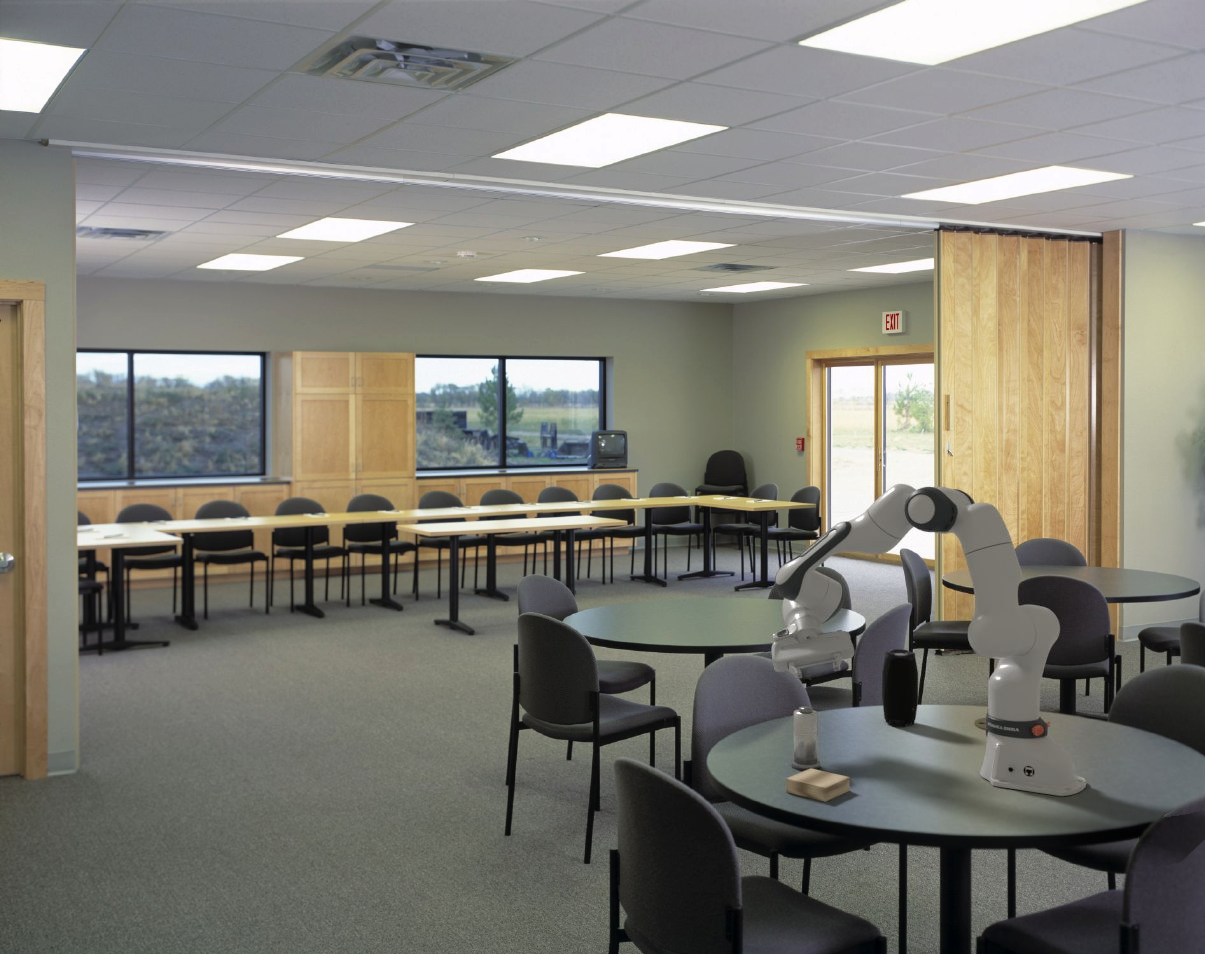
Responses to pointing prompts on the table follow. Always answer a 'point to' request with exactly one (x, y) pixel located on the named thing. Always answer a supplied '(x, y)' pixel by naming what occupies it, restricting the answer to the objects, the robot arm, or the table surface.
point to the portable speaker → (900, 687)
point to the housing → (805, 739)
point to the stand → (818, 784)
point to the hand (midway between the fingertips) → (818, 672)
